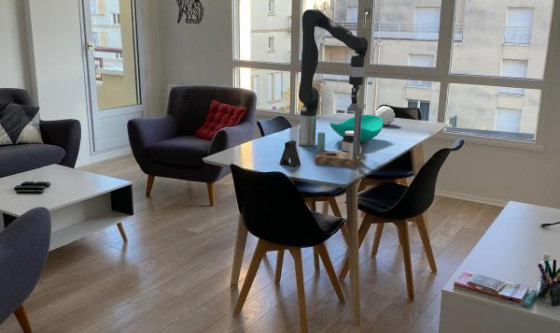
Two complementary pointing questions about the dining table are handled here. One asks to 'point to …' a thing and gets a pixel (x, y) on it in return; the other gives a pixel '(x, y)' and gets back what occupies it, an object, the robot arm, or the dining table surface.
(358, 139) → the sheltered socket
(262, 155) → the dining table surface
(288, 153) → the phone stand
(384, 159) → the dining table surface
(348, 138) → the spread jar
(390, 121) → the geodesic sphere
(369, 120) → the table top decor
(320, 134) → the peg
